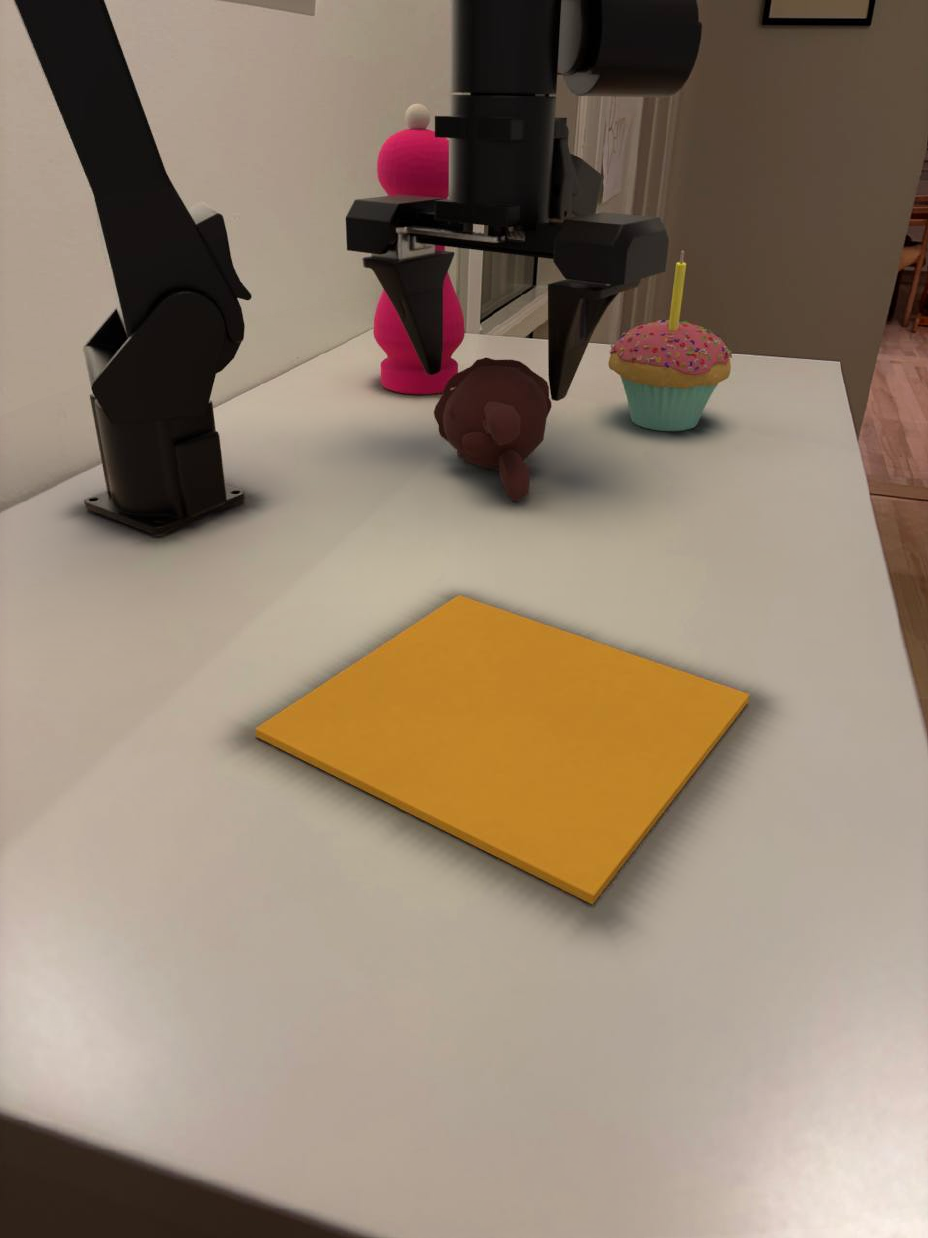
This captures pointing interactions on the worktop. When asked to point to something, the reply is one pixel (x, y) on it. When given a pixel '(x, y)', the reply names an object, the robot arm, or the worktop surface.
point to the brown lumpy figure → (496, 418)
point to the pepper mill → (424, 171)
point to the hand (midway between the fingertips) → (493, 385)
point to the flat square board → (514, 738)
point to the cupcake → (670, 367)
